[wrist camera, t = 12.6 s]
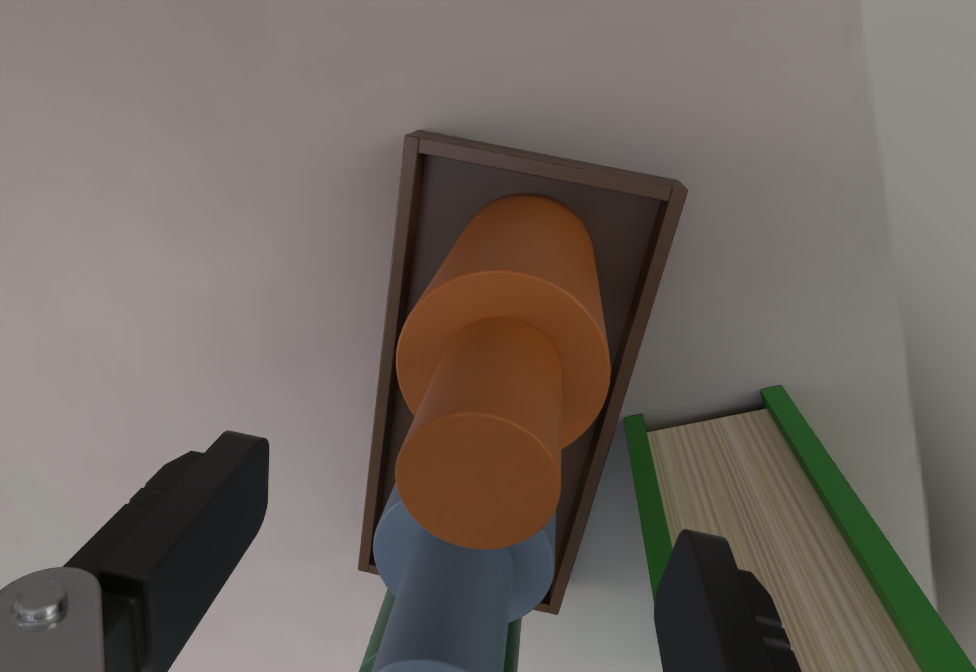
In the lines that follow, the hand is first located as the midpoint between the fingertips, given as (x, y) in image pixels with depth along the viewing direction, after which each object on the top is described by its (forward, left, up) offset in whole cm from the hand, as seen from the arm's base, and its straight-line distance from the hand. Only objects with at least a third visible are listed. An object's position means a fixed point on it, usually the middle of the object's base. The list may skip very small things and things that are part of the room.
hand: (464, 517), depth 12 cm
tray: (0, -7, -17) cm, 19 cm away
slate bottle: (0, -7, -17) cm, 18 cm away
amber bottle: (0, 0, -17) cm, 17 cm away
